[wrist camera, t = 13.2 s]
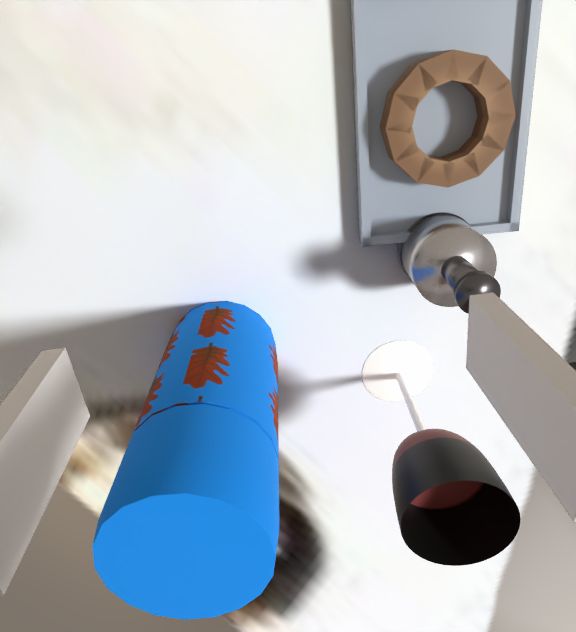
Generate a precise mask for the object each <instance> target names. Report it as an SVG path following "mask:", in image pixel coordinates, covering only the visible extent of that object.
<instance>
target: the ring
mask: <svg viewBox="0 0 576 632" xmlns="http://www.w3.org/2000/svg"><path fill="white" fill-rule="evenodd" d="M449 81H452V82H457V83H461V84H462V85H463V86H464V87H465V88H466V89H467V90H468V91H469V92H470V93H471V94H472V95H473V96H474V100H475V105H476V110H477V119H476V123H475V126H474V129H473V132H472V136H471V137H470V138H469V139H468V140H467V141H466V142H465V143H464V144H463V145H462V146H461V148H460V149H459V150H458V151H455V152H452V153H450V154H447V155H444V156H442V157H436V156H430V155H426V154H425V153H424V152H423V151H422V150H421V149H420V148H419V147H418V146H417V144H416V140H415V136H414V132H413V128H412V125H413V121H414V117H415V114H416V110H417V106H418V104H419V103H420V102H421V101H422V100H423V98H424V97H425V96H426V95H427V94H428V93H429V91H430V90H431V89H432V88H434V87H436V86H439V85H442V84H444V83H447V82H449ZM515 115H516V114H515V108H514V102H513V96H512V89H511V83H510V80H509V79H508V78H507V77H506V76H505V75H504V74H503V72H502V71H501V70H500V69H499V68H498V67H497V66H496V65H495V64H494V63H493V62H492V61H491V59H490V58H489V57H488V56H485V55H480V54H475V53H469V52H464V51H459V50H454V49H453V50H445V51H441V52H439V53H436V54H434V55H432V56H429V57H427V58H424V59H422V60H419V61H417V62H414V63H412V64H410V66H409V67H408V68H407V69H406V70H405V72H404V73H403V74H402V75H401V76H400V78H399V79H398V80H397V81H396V82H395V84H394V85H393V86H392V87H391V89H390V90H389V91H388V93H387V97H386V101H385V106H384V110H383V114H382V119H381V123H380V129H381V132H382V136H383V140H384V143H385V147H386V150H387V154H388V157H389V158H390V159H391V160H392V161H393V162H394V163H395V164H397V165H398V166H399V167H400V168H401V169H402V170H403V171H404V172H405V173H406V174H407V175H409V176H410V177H411V178H412V179H413V180H415V181H416V182H417V183H423V184H429V185H435V186H441V187H447V188H448V187H451V186H454V185H457V184H459V183H462V182H465V181H467V180H470V179H473V178H476V177H478V176H480V175H481V174H482V173H483V172H484V171H485V170H486V169H487V168H488V167H489V166H490V164H491V163H492V162H493V161H494V160H495V159H496V158H497V157H498V156H499V155H500V154H501V153H502V152H503V151H504V149H505V146H506V143H507V140H508V137H509V134H510V131H511V128H512V125H513V122H514V119H515Z"/></svg>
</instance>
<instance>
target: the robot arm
mask: <svg viewBox="0 0 576 632" xmlns="http://www.w3.org/2000/svg"><path fill="white" fill-rule="evenodd" d="M466 368H467V370H468V371H469V373H470V374H471V375H472V377H473V378H474V380H475V381H476V383H477V384H478V385H479V387H480V388H481V390H482V391H483V393H484V394H485V395H486V397H487V398H488V400H489V401H490V403H491V404H492V406H493V407H494V408H495V410H496V411H497V413H498V414H499V416H500V417H501V418H502V420H503V421H504V423H505V424H506V426H507V427H508V428H509V430H510V431H511V433H512V434H513V436H514V437H515V439H516V440H517V441H518V443H519V444H520V446H521V447H522V449H523V450H524V451H525V453H526V454H527V456H528V457H529V459H530V460H531V462H532V463H533V464H534V466H535V467H536V469H537V470H538V472H539V473H540V474H541V476H542V477H543V479H544V480H545V481H546V483H547V484H548V486H549V487H550V489H551V490H552V492H553V493H554V495H555V496H556V497H557V499H558V500H559V502H560V503H561V504H562V506H563V507H564V509H565V510H566V512H567V513H568V515H569V516H570V517H571V519H572V520H573V522H576V362H572V363H567V362H566V361H565V360H564V359H563V358H562V357H561V356H560V355H559V354H558V353H557V352H555V351H554V350H553V349H552V348H551V347H550V346H549V345H548V344H547V343H546V342H545V341H544V340H543V339H542V338H541V337H540V336H539V335H538V334H537V333H535V332H534V331H533V330H532V329H531V328H530V327H529V326H528V325H527V324H526V323H525V322H524V321H523V320H522V319H521V318H520V317H519V316H518V315H517V314H516V313H514V312H513V311H512V310H511V309H510V308H509V307H508V306H507V305H506V304H505V303H504V302H503V301H502V300H501V299H500V298H499V297H498V296H497V295H496V294H494V293H493V292H492V293H484V294H477V295H470V298H469V319H468V340H467V361H466ZM89 417H90V414H89V411H88V409H87V406H86V403H85V400H84V398H83V395H82V392H81V389H80V386H79V384H78V381H77V378H76V375H75V373H74V370H73V367H72V364H71V361H70V359H69V356H68V353H67V350H66V348H58V349H50V350H42V351H41V352H40V354H39V355H38V356H37V358H36V359H35V360H34V362H33V363H32V364H31V365H30V367H29V368H28V369H27V371H26V372H25V373H24V375H23V376H22V377H21V379H20V380H19V381H18V382H17V384H16V385H15V386H14V388H13V389H12V390H11V392H10V393H9V394H8V396H7V397H6V398H5V399H4V401H3V402H2V403H1V405H0V595H4V594H5V592H6V589H7V588H8V585H9V583H10V581H11V579H12V577H13V575H14V573H15V571H16V568H17V567H18V565H19V562H20V560H21V559H22V556H23V554H24V552H25V550H26V548H27V546H28V544H29V542H30V540H31V537H32V535H33V534H34V531H35V529H36V527H37V525H38V523H39V521H40V519H41V517H42V515H43V513H44V511H45V509H46V507H47V504H48V502H49V500H50V498H51V496H52V494H53V492H54V490H55V488H56V486H57V484H58V482H59V480H60V478H61V476H62V473H63V471H64V469H65V467H66V465H67V463H68V461H69V459H70V457H71V455H72V453H73V451H74V449H75V446H76V444H77V442H78V440H79V438H80V436H81V434H82V432H83V430H84V428H85V426H86V424H87V422H88V420H89Z"/></svg>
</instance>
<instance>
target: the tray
mask: <svg viewBox="0 0 576 632" xmlns="http://www.w3.org/2000/svg"><path fill="white" fill-rule="evenodd" d="M541 10H542V0H351V22H352V49H353V75H354V101H355V128H356V154H357V181H358V207H359V233H360V243H361V245H362V247H364V246H374V245H383V244H393V243H403V242H406V240H407V238H408V236H409V235H410V232H409V231H407V230H408V229H409V228H410V227H411V226H412V225H413V224H414V223H415V222H416V221H418V220H419V219H421V218H423V217H425V216H427V215H430V214H433V213H439V212H446V213H452V214H455V215H457V216H459V217H461V218H463V219H464V220H465V221H466V222H467V223H468V224H469V225H470V226H471V227H472V228H473V229H475V230H476V231H477V232H479V233H480V234H481V235H482V234H491V233H501V232H511V231H519V223H520V213H521V203H522V194H523V184H524V174H525V165H526V155H527V145H528V136H529V126H530V116H531V107H532V97H533V87H534V78H535V68H536V58H537V49H538V39H539V29H540V20H541ZM453 49H454V50H459V51H464V52H469V53H475V54H480V55H485V56H488V57H489V58H490V59H491V61H492V62H493V63H494V64H495V65H496V66H497V67H498V68H499V69H500V70H501V71H502V72H503V74H504V75H505V76H506V77H507V78H508V79H509V80H510V83H511V89H512V96H513V102H514V108H515V114H516V115H515V119H514V122H513V125H512V128H511V131H510V134H509V137H508V140H507V143H506V146H505V149H504V151H503V152H502V153H501V154H500V155H499V156H498V157H497V158H496V159H495V160H494V161H493V162H492V163H491V164H490V166H489V167H488V168H487V169H486V170H485V171H484V172H483V173H482V174H481V175H480V176H478V177H476V178H473V179H470V180H467V181H465V182H462V183H459V184H457V185H454V186H451V187H448V188H447V187H441V186H435V185H429V184H423V183H417V182H416V181H415V180H413V179H412V178H411V177H410V176H409V175H407V174H406V173H405V172H404V171H403V170H402V169H401V168H400V167H399V166H398V165H397V164H395V163H394V162H393V161H392V160H391V159H390V158H389V157H388V154H387V150H386V147H385V143H384V140H383V136H382V132H381V129H380V123H381V119H382V114H383V110H384V106H385V101H386V97H387V93H388V91H389V90H390V89H391V87H392V86H393V85H394V84H395V82H396V81H397V80H398V79H399V78H400V76H401V75H402V74H403V73H404V72H405V70H406V69H407V68H408V67H409V66H410V64H412V63H414V62H417V61H419V60H422V59H424V58H427V57H429V56H432V55H434V54H436V53H439V52H441V51H445V50H453ZM476 119H477V110H476V105H475V100H474V96H473V95H472V94H471V93H470V92H469V91H468V90H467V89H466V88H465V87H464V86H463V85H462V84H461V83H457V82H452V81H449V82H447V83H444V84H442V85H439V86H436V87H434V88H432V89H431V90H430V91H429V93H428V94H427V95H426V96H425V97H424V98H423V100H422V101H421V102H420V103H419V104H418V106H417V110H416V114H415V117H414V121H413V125H412V128H413V132H414V136H415V140H416V144H417V146H418V147H419V148H420V149H421V150H422V151H423V152H424V153H425V154H426V155H430V156H436V157H442V156H444V155H447V154H450V153H452V152H455V151H458V150H459V149H460V148H461V146H462V145H463V144H464V143H465V142H466V141H467V140H468V139H469V138H470V137H471V136H472V132H473V129H474V126H475V123H476Z"/></svg>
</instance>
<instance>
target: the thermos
mask: <svg viewBox="0 0 576 632" xmlns="http://www.w3.org/2000/svg"><path fill="white" fill-rule="evenodd" d="M278 535H279V461H278V363H277V354H276V346H275V341H274V338H273V335H272V331H271V328H270V327H269V326H268V324H267V323H266V322H265V321H264V319H263V318H262V317H261V316H260V315H259V314H258V313H256V312H254V311H253V310H251V309H250V308H248V307H246V306H245V305H241V304H237V303H233V302H228V301H220V302H208V303H206V304H203V305H201V306H199V307H197V308H194V309H192V310H191V311H190V312H189V313H188V314H187V315H186V316H185V317H184V318H183V319H181V320H180V321H179V323H178V325H177V327H176V329H175V331H174V333H173V335H172V337H171V339H170V341H169V343H168V346H167V348H166V350H165V353H164V355H163V358H162V360H161V363H160V365H159V368H158V370H157V373H156V375H155V378H154V380H153V383H152V386H151V388H150V391H149V393H148V396H147V398H146V401H145V403H144V406H143V408H142V411H141V413H140V416H139V419H138V421H137V424H136V426H135V429H134V431H133V434H132V436H131V439H130V441H129V444H128V447H127V449H126V452H125V454H124V457H123V459H122V462H121V464H120V467H119V469H118V472H117V475H116V477H115V480H114V482H113V485H112V487H111V490H110V492H109V495H108V497H107V500H106V502H105V505H104V508H103V510H102V513H101V515H100V518H99V520H98V525H97V529H96V533H95V538H94V542H93V554H94V565H95V569H96V571H97V572H98V574H99V575H100V577H101V579H102V580H103V582H104V583H105V585H106V587H107V588H108V589H109V590H110V591H112V592H113V593H114V594H116V595H117V596H118V597H120V598H121V599H122V600H123V601H125V602H126V603H128V604H129V605H131V606H134V607H136V608H139V609H141V610H144V611H146V612H149V613H151V614H154V615H158V616H165V617H172V618H178V619H197V618H209V617H216V616H219V615H222V614H225V613H228V612H231V611H234V610H238V609H240V608H242V607H243V606H245V605H246V604H247V603H249V602H250V601H252V600H253V599H255V598H256V597H258V596H259V595H260V594H261V593H262V591H263V590H264V589H265V587H266V586H267V584H268V583H269V581H270V580H271V578H272V577H273V573H274V565H275V558H276V551H277V543H278Z"/></svg>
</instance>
